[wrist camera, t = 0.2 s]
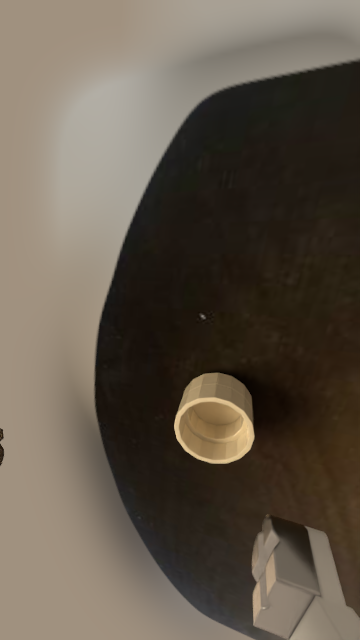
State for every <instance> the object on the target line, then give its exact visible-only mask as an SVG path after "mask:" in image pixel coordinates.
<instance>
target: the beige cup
mask: <svg viewBox="0 0 360 640" xmlns="http://www.w3.org/2000/svg"><path fill="white" fill-rule="evenodd" d="M174 428H175V433H176V437H177V440H178V441H179V443H180V444H181V445H182V447H183V448H184V449H185V450H186V451H187V452H188V453H190V454H191V455H193V456H194V457H195V458H197V459H199V460H203V461H206V462H209V463H229V462H232V461H235V460H238V459H240V458H241V457H243V456H244V455H245V454H246V453H247V452H248V451H249V450H250V449H251V446H252V443H253V440H254V437H255V434H254V415H253V403H252V396H251V394H250V393H249V391H248V390H247V388H246V387H245V385H244V384H243V383H241V382H240V381H238V380H237V379H236V378H234V377H232V376H230V375H226V374H222V373H206V374H203V375H201V376H199V377H197V378H195V379H193V380H192V381H191V383H190V384H189V385H188V386H187V387H186V389H185V391H184V394H183V397H182V400H181V403H180V406H179V409H178V412H177V416H176V420H175V424H174Z"/></svg>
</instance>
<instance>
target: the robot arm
mask: <svg viewBox="0 0 360 640" xmlns="http://www.w3.org/2000/svg"><path fill="white" fill-rule="evenodd" d="M2 439H3V430H2V429H0V441H1V440H2ZM3 456H4V449H3V447H2V446H1V444H0V465H1V464H2V460H3ZM252 574H253V576H254V578H255V580H256V582H257V585H256V587H255V589H254V591H253V621H254V626H256V627H258V628H261V629H263V630H266V631H268V632H271V633H273V634H276V635H278V636H281V637H283V638H286V639H288V640H360V618H359V617H358V616H357V614H356V613H355V611H354V610H353V609H352V608H350V607H347V606H346V604H345V600H344V596H343V593H342V589H341V585H340V582H339V578H338V574H337V570H336V567H335V563H334V559H333V556H332V552H331V548H330V545H329V541H328V537H327V535H326V534H325V532H322V531H319V530H316V529H313V528H310V527H306V526H303V525H301V524H298V523H295V522H292V521H288V520H285V519H282V518H279V517H275V516H272V515H269V514H268V515H267V516H265V518H264V521H263V532H261V533H258V535H257V537H256V540H255V543H254V548H253V554H252Z"/></svg>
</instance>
